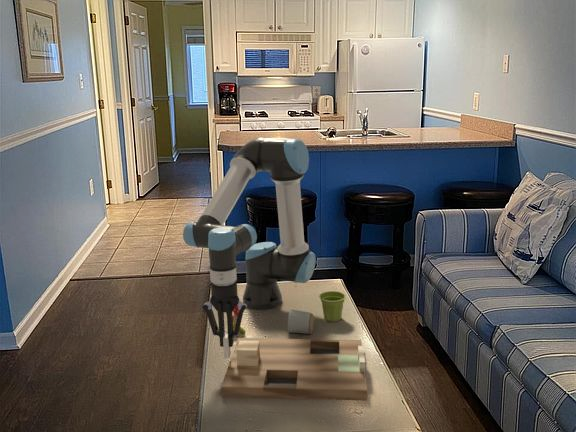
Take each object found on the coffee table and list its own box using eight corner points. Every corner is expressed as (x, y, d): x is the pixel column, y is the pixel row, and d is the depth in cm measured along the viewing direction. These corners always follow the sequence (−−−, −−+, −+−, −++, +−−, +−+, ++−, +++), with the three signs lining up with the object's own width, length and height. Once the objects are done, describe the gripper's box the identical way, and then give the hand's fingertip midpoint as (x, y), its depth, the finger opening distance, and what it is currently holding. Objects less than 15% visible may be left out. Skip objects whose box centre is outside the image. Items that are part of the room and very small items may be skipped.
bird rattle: (226, 335, 193) (227, 336, 184) (225, 302, 195) (225, 302, 186) (244, 333, 194) (246, 334, 185) (243, 301, 195) (244, 301, 187)
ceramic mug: (311, 337, 185) (311, 316, 183) (287, 335, 187) (286, 314, 185) (315, 324, 195) (315, 304, 194) (293, 323, 197) (292, 302, 195)
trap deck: (238, 346, 180) (237, 329, 179) (361, 348, 177) (361, 331, 176) (221, 396, 152) (220, 376, 151) (366, 400, 149) (367, 380, 148)
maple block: (240, 355, 168) (239, 340, 167) (259, 355, 168) (259, 340, 166) (237, 365, 162) (236, 350, 161) (257, 366, 162) (256, 350, 161)
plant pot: (326, 326, 194) (326, 302, 192) (315, 315, 202) (314, 293, 200) (350, 321, 197) (350, 298, 195) (337, 311, 206) (337, 289, 204)
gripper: (198, 286, 156) (202, 361, 162) (244, 286, 155) (247, 362, 161) (204, 276, 164) (208, 349, 169) (248, 277, 162) (250, 350, 168)
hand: (227, 355), depth 165 cm, fingers closed
